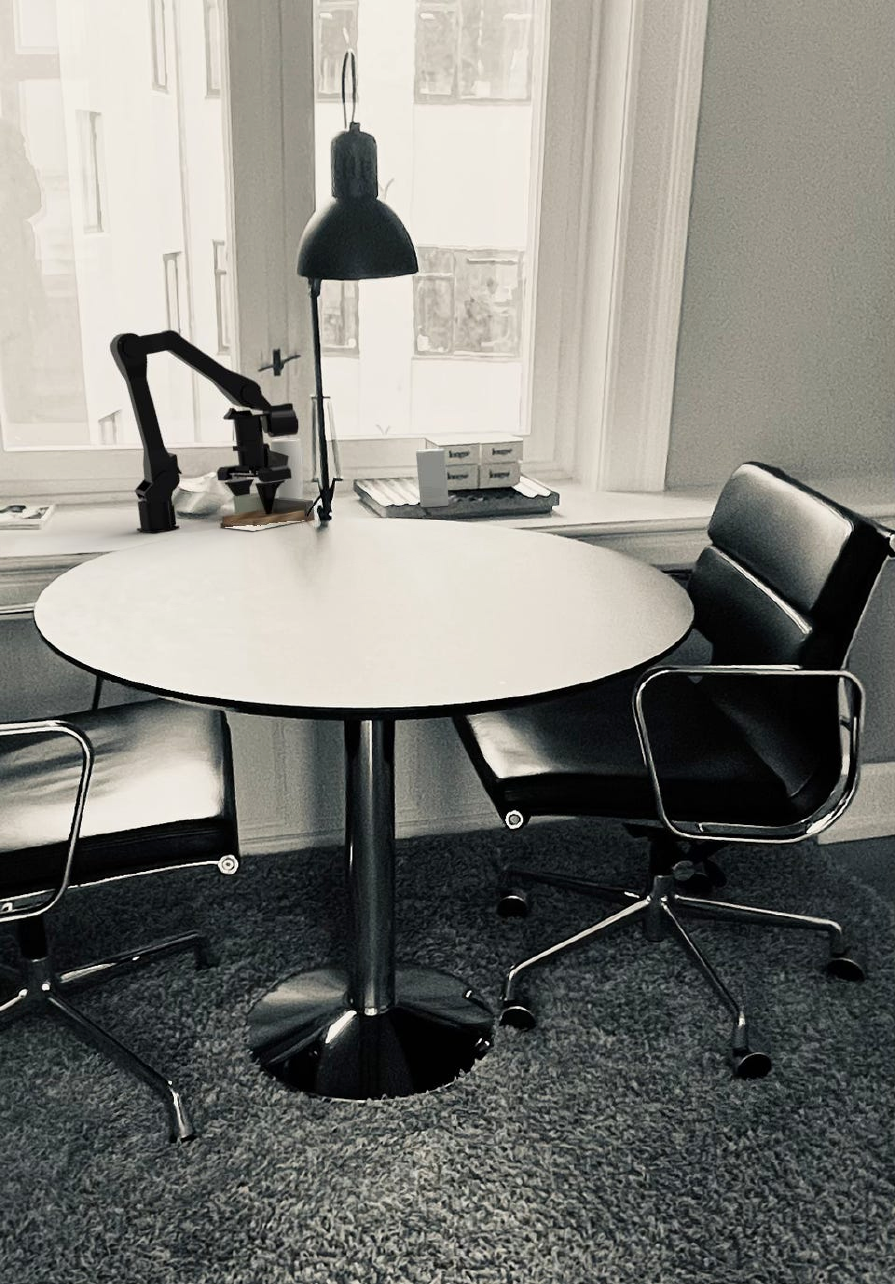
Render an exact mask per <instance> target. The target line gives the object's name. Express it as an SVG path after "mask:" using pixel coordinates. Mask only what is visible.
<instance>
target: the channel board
mask: <svg viewBox="0 0 895 1284" xmlns="http://www.w3.org/2000/svg"><path fill="white" fill-rule="evenodd" d="M313 505H314V500H312V499H304V498H303V499H293V498H281V497H279V496H278V497H276V498H275V499H274V503H273V508H272V513H271V514H268V515H267V514H266V512H265V510H264V509H261V510H255V511H250V512H245V513H240V514H235V513H233V514H229V515H225V516H221V520H222V522H219V525H220V529H226V528H225V527H233V526H246V525H253V526H257V525H260V526H261V525H267V524H269V523H278V522H287V521H302V520H310V521H313V520H315V518H316V517H315V505H314V507H313V509H312V510H311V512H310V513H309V515H308V517H307V513H308V511H309V509H310V508H311V507H312V506H313Z"/></svg>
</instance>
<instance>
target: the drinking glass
mask: <svg viewBox="0 0 895 1284" xmlns="http://www.w3.org/2000/svg"><path fill="white" fill-rule="evenodd" d="M302 446H303V445H302V439H301V438H299V437H287V438H277V439H276V438H275V439H271V440H270V450H271V451H274V452H278V453H281V454H284V455H288V456H289V459H288V465H287V466H288V467H289V468H290V469H291V475H292V478H291V479H285V482H284V483H281V485H280V486H279V487H278V488H277V494H278V498H279V497H281V498H293V499H304V491H303V490H304V489H303V487H304V486H303V485H304V484H303V481H304V480H303V478H304V477H303V476H304V473H303V470H304V467H303V463H304V462H303V458H304V457H303V449H302V448H303V447H302Z"/></svg>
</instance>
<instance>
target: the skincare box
mask: <svg viewBox="0 0 895 1284" xmlns="http://www.w3.org/2000/svg"><path fill="white" fill-rule="evenodd" d="M415 455H416V457H415V458H416V466H417V467H416V468H417V479H418V480H417V481H418V491H419V492H418V493H419V504H420V507H421V508H432V507H433V508H434V507H435V508H436V507H437V508H438V507H448V506H449V503H450V502H448V501H449V491H448V478H447V477H448V475H447V467H446V466H447V465H446V451H445V448H431V449H430V448H428V449H426V448H425V449H418V450H416V452H415Z"/></svg>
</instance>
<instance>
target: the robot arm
mask: <svg viewBox="0 0 895 1284" xmlns="http://www.w3.org/2000/svg"><path fill="white" fill-rule="evenodd" d="M109 349H110V350H109V351H110V353H111V356H112V358H113V361H114V363H115V365H116V367H117V369H118V371H119V372H120V374H121V376H122V377H123V379H124V381H125V384H126V387H127V392H128V396H129V399H130V403H131V405H132V410H133V415H134V417H135V421H136V425H137V429H138V433H139V436H140V441H141V443H142V444H141V445H142V449H143V459H142V460H143V461H142V467H143V468H142V469H143V476H144V478H143V480H142V481H141V482H140V483H139V484H138V485H137V487H136V488H135V489H134V492H135V494H136V496H137V499H138V500H140V501H137V507H138V515H139V516H138V517H139V522H140V523H139V524H140V527H137V528H136V531H137V532H142V533H143V532H144V533H151V534H152V533H153V534H154V533H155V534H156V533H160V532H161V533H162V532H166V531H171V530H177V529H180V525H177V518H176V517H177V516H176V510H175V504H173V499H172V498H173V493H174V491H175V490H176V489H177V488H178V487H179V485H180V482H181V480H180V475H183V472H182V470H181V469H180V467H179V460H178V455H177V454H176V453H172V452H168V450H167V448H166V446H165V444H164V439H163V436H162V431H161V428H160V424H159V421H158V416H157V413H156V409H155V405H154V401H153V397H152V393H151V389H150V386H149V381H148V376H147V375H148V355H153V354H157V353H161V352H168V353H169V354H171V355H172V356H174V357H175V358H177V359H178V360H179V361H181V362H183V363H184V364H185V365H186V366H188V367H190V368H191V369H192V370H194V371H196V372H197V373H198V374H200V375H201V376H203V377H204V378H205V379H207V381H210V382H211V383H212V384H213V385H214V386H215V387H216V388H217V389H218V391H219V392H220V393H221V394H222V395H223V396H224V397H225V398H226V399H227V401H229V402H230V403H231V404H232V405H234V406H236V407H239V408H240V407H241V408H248V409H243V410H236V409H235V407H229V409H228V411H227V412H226V413H225V415H223V417H222V418H223V420H226V421H232V420H233V426H234V433H235V443H236V445H233V446H232V452H237V458H238V459H237V460H238V464H234V465H225V466H220V467H218V470H217V471H216V476H217V481H223V482H224V484H225V485H226V486H227V487H228V488H229V489H230V492H231V493H232V494H233V495H234V497H235V496H241V495H246V494H251V486H252V485H253V483H254V481H255V479H256V478H257V479H258V481H260V482H256V483H255V486H256V487H255V488H256V490H257V493H259V496H260V499H261V502H262V505H263V508H264V510H265V512H266V514H267V515H268V514H271V513H272V508H273V503H274V499H275V494H276V495H277V492H278V489H277V488H278V487H279V486H280V485H281V483H284V482H285V479H291V478H292V475H291V469H290V468H289V467H288V466H287V465H288V459H289V456H288V455H284V454H281V453H278V452H274V451H271V445H269V443H268V442H264V441H265V439H264V434H267V435H268V437H269V438H279V437H286V436H287V437H290V436H295V435H298V432H299V419H298V416H297V414H296V411H295V409H294V407H293V406H294V405H293V403H292V402H286V403H281V404H273V405H272V404H271V403H270V402H269V400H267V399H266V397H265V396H264V395H263V392H262V389H261V388H262V387H261V386H260V384H259V383H258V382H257V381H255V380H254V379H251V378H249V377H247V376H245V375H243V374H241V373H238V372H235V371H233V370H230V369H229V368H227V367H225V366H224V365H222V364H221V363H219V362H218V361H216V360H215V359H214V358H212V357H211V356H209V355H208V354H207V353H205V352H204V351H202V350H201V349H200V348H198V347H197V346H195V345H194V344H192V342H190V341H188V340H187V339H186V338H184V337H183V336H181V334H180V333H179V332H178V331H176V330H174V329H165V330H162V331H161V332H156V333H151V334H143V335H139V334H137V333H134V332H124V333H119V334H116V335H115V336H114V337H113V338H112V339H111V341H110V343H109ZM251 410H252V411H260V412H261V413H256V414H255V413H254V414H253V413H252V411H251ZM254 478H255V479H254Z"/></svg>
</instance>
